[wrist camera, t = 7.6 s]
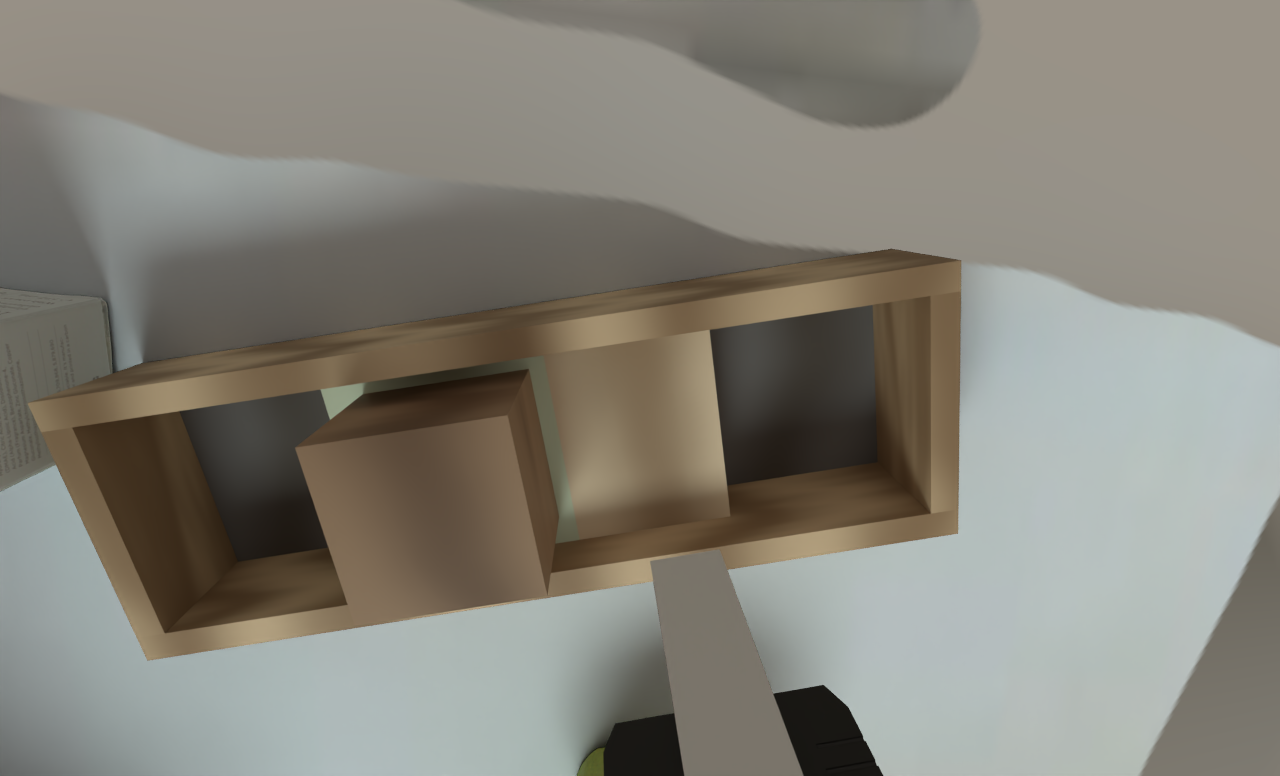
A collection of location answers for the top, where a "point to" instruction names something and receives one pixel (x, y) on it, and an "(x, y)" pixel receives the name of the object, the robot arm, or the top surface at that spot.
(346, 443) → the walnut block
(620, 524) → the wooden cubby shelf
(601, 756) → the plant pot
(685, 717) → the robot arm
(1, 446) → the skincare box
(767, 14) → the top surface
